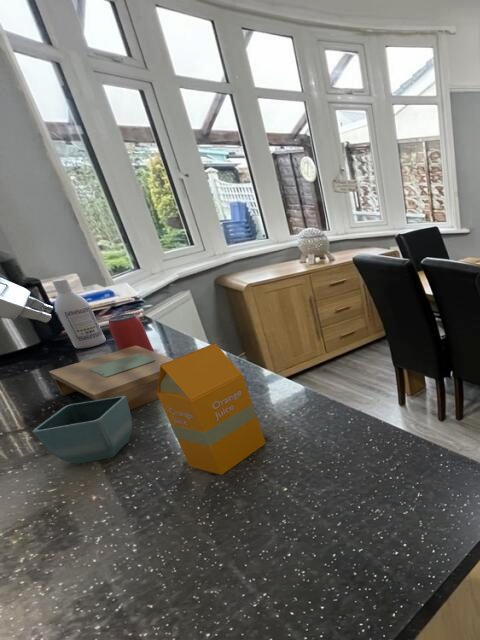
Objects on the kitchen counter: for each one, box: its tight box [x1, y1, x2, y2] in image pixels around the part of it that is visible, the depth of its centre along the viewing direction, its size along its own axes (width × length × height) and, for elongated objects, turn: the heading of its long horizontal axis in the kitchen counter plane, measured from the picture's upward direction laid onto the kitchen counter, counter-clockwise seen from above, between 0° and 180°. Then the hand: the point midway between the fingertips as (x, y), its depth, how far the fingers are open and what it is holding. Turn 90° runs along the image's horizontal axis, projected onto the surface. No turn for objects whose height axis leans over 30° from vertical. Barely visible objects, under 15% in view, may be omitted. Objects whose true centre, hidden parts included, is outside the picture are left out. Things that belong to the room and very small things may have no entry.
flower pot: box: [31, 396, 133, 465], centre depth 69 cm, size 9×9×9 cm
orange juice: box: [157, 342, 267, 476], centre depth 66 cm, size 8×9×20 cm
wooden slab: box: [48, 346, 175, 411], centre depth 91 cm, size 16×24×6 cm, turn 62°
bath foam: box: [51, 278, 107, 349], centre depth 115 cm, size 7×7×20 cm
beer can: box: [107, 313, 155, 352], centre depth 107 cm, size 7×7×12 cm
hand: (50, 314), depth 95 cm, fingers open, 8 cm apart
